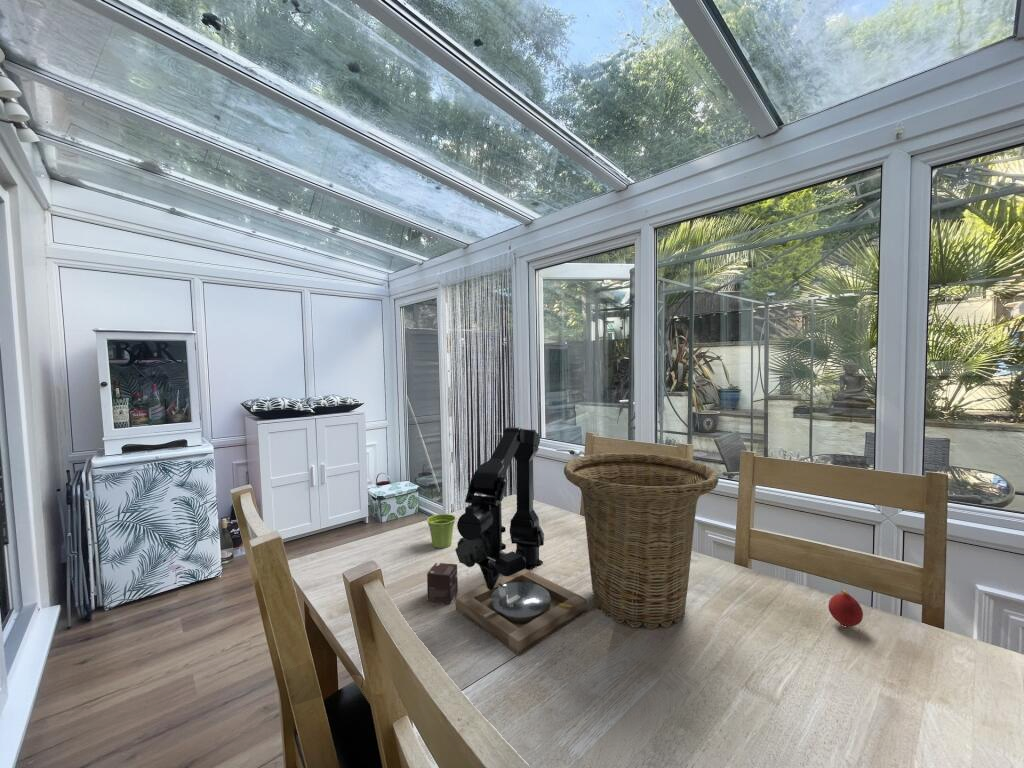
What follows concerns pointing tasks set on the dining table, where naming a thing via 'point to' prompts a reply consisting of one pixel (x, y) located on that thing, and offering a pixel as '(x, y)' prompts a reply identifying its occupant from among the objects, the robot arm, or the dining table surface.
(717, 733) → the dining table surface
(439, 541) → the plant pot
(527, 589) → the grey metal bowl
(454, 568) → the box
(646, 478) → the wicker basket
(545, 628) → the square wooden tray
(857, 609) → the onion
